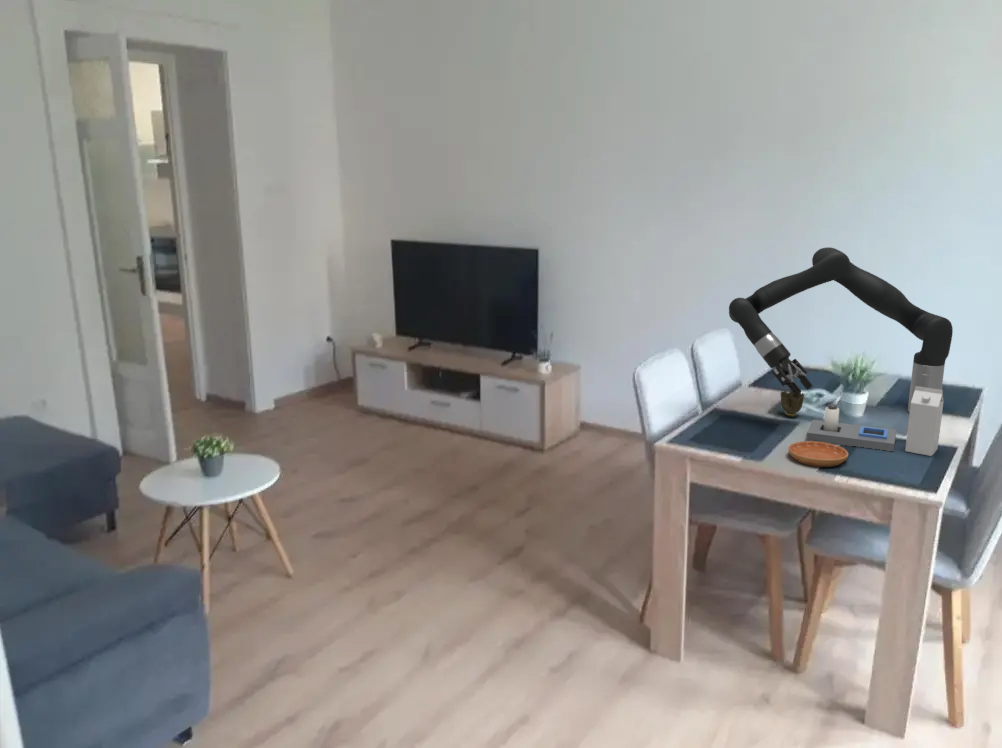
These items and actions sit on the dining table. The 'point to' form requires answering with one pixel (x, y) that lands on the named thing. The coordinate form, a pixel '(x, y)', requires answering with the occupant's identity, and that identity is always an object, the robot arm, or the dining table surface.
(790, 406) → the cup
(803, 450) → the saucer
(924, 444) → the milk carton
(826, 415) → the capped white bottle
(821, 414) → the dining table surface
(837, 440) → the block with square holes
